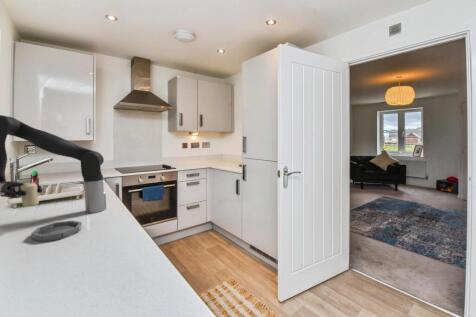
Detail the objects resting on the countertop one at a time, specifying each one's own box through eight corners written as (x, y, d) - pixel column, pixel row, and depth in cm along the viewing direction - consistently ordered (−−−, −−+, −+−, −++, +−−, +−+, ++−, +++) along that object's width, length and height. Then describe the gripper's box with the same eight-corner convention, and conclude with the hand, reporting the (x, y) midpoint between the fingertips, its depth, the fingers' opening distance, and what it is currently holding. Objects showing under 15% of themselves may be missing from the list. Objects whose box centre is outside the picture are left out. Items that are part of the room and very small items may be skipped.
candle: (29, 206, 102) (26, 184, 101) (19, 206, 103) (16, 183, 102) (42, 203, 107) (39, 181, 106) (32, 202, 108) (30, 181, 108)
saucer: (65, 224, 110) (65, 219, 110) (89, 228, 104) (88, 223, 104) (24, 238, 95) (23, 232, 95) (49, 244, 89) (49, 237, 89)
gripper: (-11, 184, 103) (11, 186, 97) (28, 178, 116) (50, 180, 110) (-9, 201, 103) (13, 204, 97) (29, 193, 117) (51, 196, 111)
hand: (33, 191), depth 104 cm, fingers closed on candle, 5 cm apart
